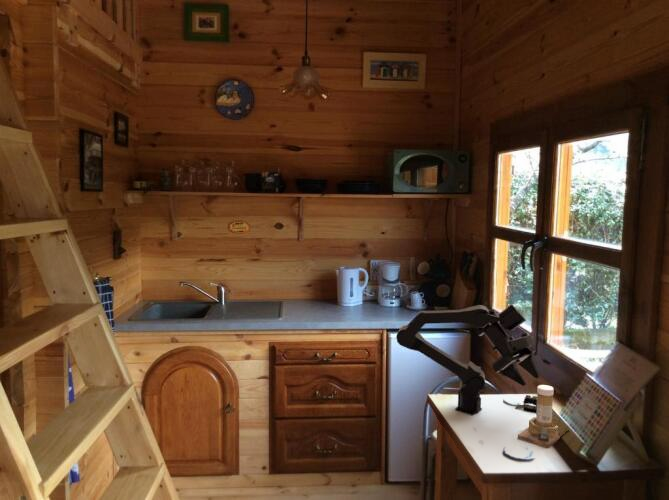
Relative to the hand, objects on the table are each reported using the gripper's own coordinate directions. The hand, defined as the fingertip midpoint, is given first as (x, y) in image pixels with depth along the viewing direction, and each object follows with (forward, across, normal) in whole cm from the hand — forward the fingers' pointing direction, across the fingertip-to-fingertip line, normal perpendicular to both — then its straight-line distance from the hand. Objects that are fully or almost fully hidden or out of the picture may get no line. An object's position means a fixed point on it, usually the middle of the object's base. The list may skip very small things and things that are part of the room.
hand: (531, 381), depth 171 cm
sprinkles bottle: (+13, -4, +5) cm, 15 cm away
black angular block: (+6, +12, +14) cm, 19 cm away
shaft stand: (+14, -4, +5) cm, 15 cm away
